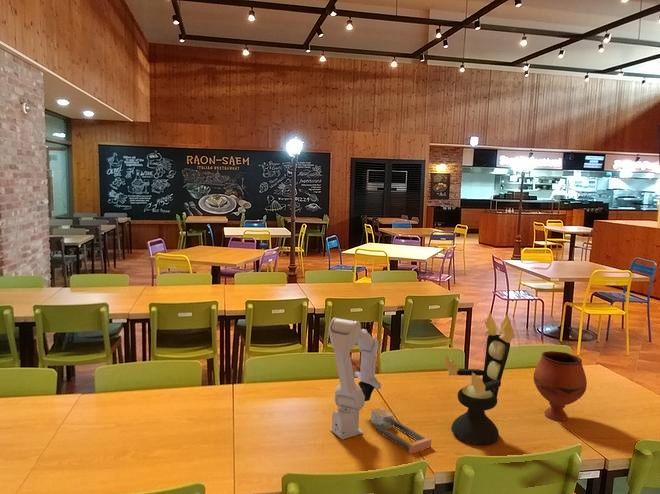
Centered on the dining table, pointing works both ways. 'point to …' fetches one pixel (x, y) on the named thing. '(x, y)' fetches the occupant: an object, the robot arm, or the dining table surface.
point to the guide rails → (411, 447)
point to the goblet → (559, 381)
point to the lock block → (382, 418)
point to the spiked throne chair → (482, 386)
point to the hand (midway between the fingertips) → (366, 400)
